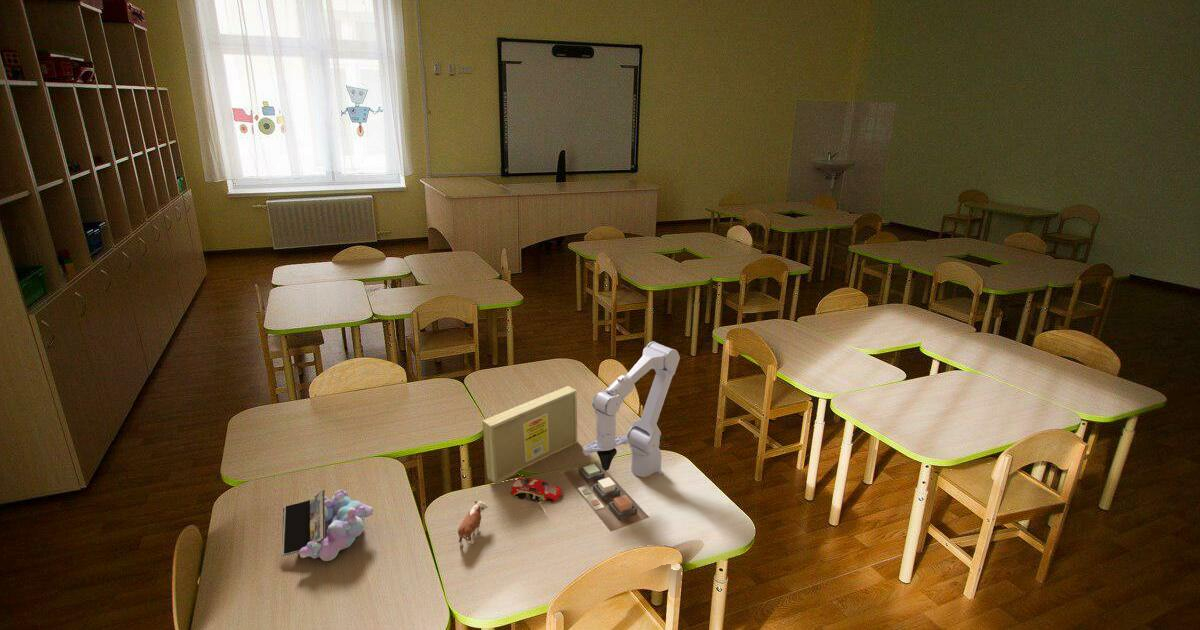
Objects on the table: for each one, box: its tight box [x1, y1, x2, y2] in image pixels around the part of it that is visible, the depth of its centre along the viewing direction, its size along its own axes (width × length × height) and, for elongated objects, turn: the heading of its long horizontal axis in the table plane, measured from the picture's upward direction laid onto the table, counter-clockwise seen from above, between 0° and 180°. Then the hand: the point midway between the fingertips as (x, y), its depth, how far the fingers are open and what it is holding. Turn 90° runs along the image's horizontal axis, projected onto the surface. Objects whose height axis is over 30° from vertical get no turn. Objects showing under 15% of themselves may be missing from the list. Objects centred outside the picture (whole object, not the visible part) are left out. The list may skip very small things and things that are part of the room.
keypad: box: [562, 461, 650, 532], centre depth 196 cm, size 13×32×3 cm, turn 28°
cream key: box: [598, 477, 615, 494], centre depth 196 cm, size 4×4×2 cm
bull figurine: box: [457, 500, 489, 547], centre depth 179 cm, size 4×13×8 cm, turn 161°
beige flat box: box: [482, 385, 579, 485], centre depth 210 cm, size 35×5×22 cm, turn 132°
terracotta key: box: [614, 495, 632, 513], centre depth 188 cm, size 4×4×2 cm
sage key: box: [583, 463, 600, 477], centre depth 204 cm, size 4×4×2 cm
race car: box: [510, 477, 564, 503], centre depth 196 cm, size 16×7×5 cm, turn 74°
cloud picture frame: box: [280, 487, 374, 562], centre depth 174 cm, size 20×22×18 cm
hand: (605, 468), depth 194 cm, fingers closed
